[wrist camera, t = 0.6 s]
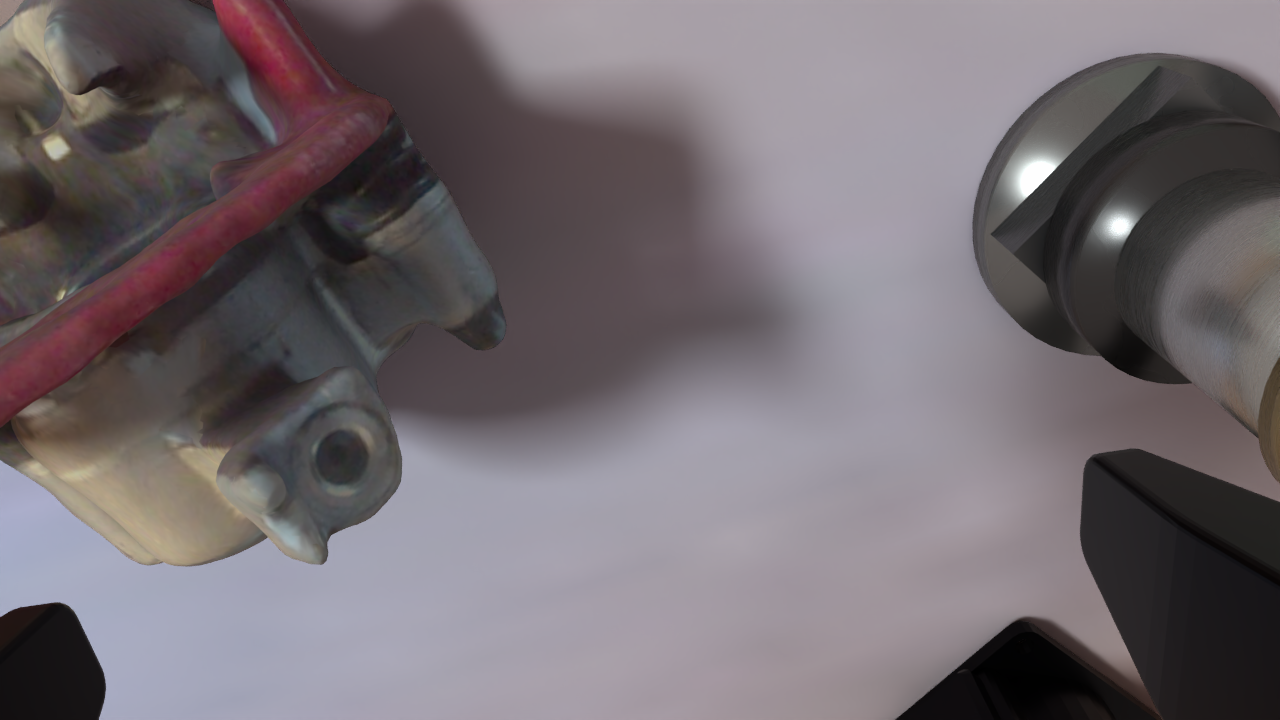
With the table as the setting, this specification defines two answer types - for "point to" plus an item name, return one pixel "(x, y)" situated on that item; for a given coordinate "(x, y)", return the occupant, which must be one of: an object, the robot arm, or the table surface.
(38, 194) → the carburetor
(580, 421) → the table surface
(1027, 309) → the disc with square block
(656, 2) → the table surface
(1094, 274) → the brass cabinet knob
